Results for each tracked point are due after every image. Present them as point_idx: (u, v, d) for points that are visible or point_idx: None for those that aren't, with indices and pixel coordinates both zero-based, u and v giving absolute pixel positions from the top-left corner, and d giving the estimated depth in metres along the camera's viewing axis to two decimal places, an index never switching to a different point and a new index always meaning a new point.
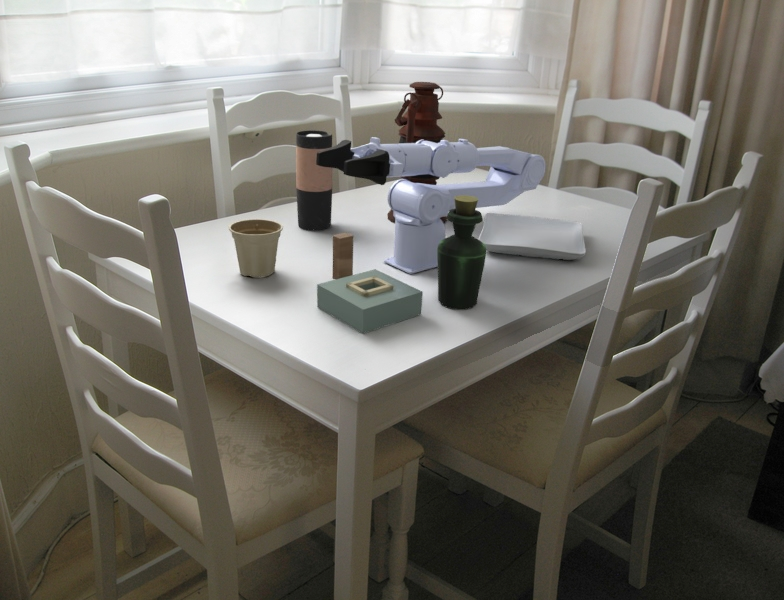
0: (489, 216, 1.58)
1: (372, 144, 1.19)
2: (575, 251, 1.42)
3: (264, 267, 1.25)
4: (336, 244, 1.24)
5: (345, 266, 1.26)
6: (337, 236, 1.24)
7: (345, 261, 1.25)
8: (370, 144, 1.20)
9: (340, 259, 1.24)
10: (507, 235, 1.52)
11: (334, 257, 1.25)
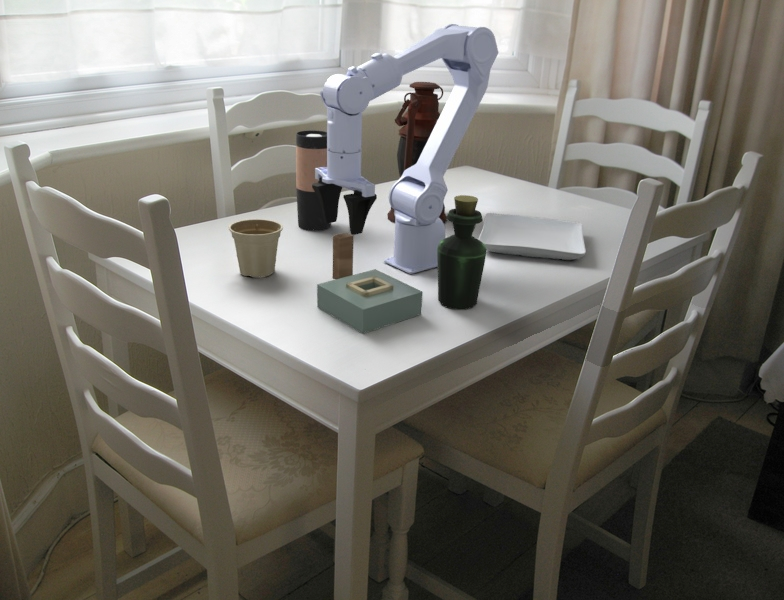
0: (489, 216, 1.58)
1: None
2: (575, 251, 1.42)
3: (264, 267, 1.25)
4: (336, 244, 1.24)
5: (345, 266, 1.26)
6: (337, 236, 1.24)
7: (345, 261, 1.25)
8: None
9: (340, 259, 1.24)
10: (507, 235, 1.52)
11: (334, 257, 1.25)
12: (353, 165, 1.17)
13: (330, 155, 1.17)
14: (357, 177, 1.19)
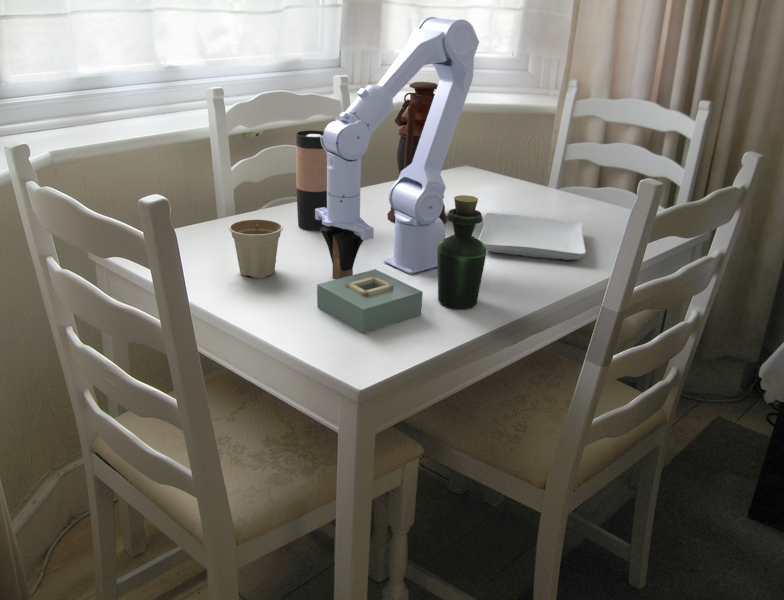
0: (489, 216, 1.58)
1: None
2: (575, 251, 1.42)
3: (264, 267, 1.25)
4: (336, 244, 1.24)
5: None
6: None
7: None
8: None
9: None
10: (507, 235, 1.52)
11: (334, 257, 1.25)
12: (352, 208, 1.20)
13: (330, 199, 1.20)
14: (356, 219, 1.21)
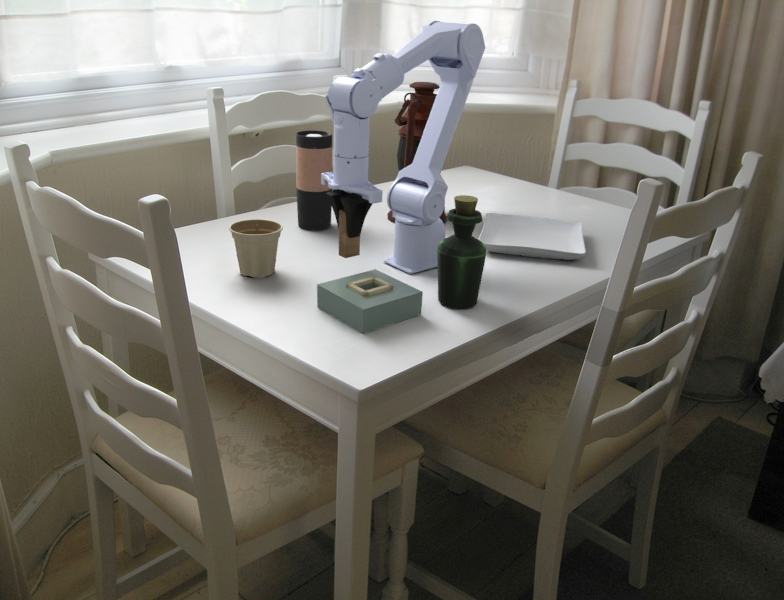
0: (489, 216, 1.58)
1: None
2: (575, 251, 1.42)
3: (264, 267, 1.25)
4: (342, 219, 1.18)
5: (352, 242, 1.20)
6: (343, 210, 1.18)
7: None
8: None
9: (347, 234, 1.19)
10: (507, 235, 1.52)
11: (340, 233, 1.19)
12: (360, 170, 1.13)
13: (336, 160, 1.13)
14: (364, 183, 1.15)
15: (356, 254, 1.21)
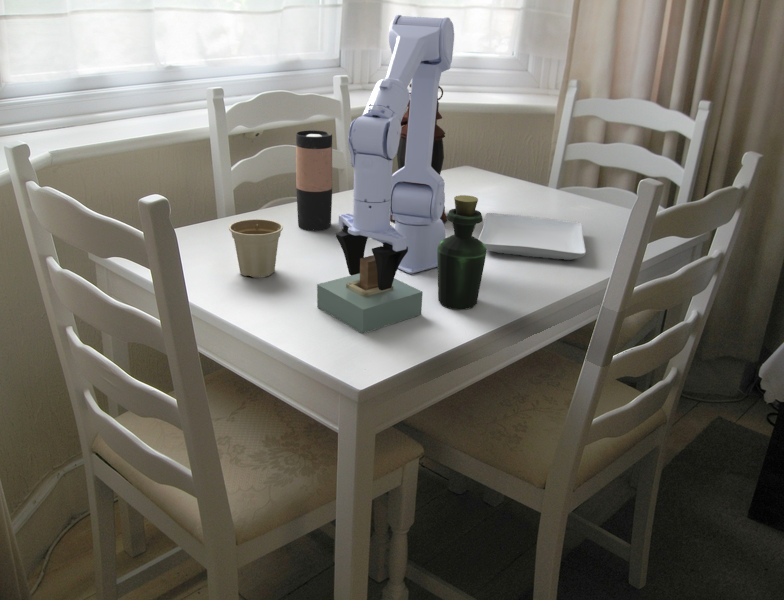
0: (489, 216, 1.58)
1: None
2: (575, 251, 1.42)
3: (264, 267, 1.25)
4: (364, 268, 1.11)
5: None
6: (365, 259, 1.11)
7: (373, 287, 1.12)
8: None
9: (369, 284, 1.11)
10: (507, 235, 1.52)
11: (361, 282, 1.12)
12: (382, 215, 1.06)
13: (357, 204, 1.06)
14: (386, 228, 1.07)
15: None
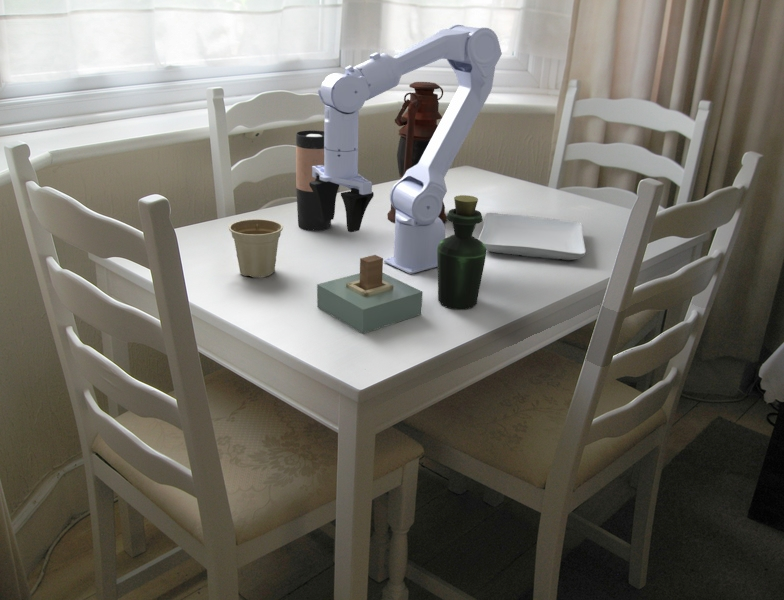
0: (489, 216, 1.58)
1: None
2: (575, 251, 1.42)
3: (264, 267, 1.25)
4: (364, 268, 1.11)
5: None
6: (365, 259, 1.11)
7: (373, 287, 1.12)
8: None
9: (369, 284, 1.11)
10: (507, 235, 1.52)
11: (361, 282, 1.12)
12: (350, 163, 1.18)
13: (327, 153, 1.18)
14: (354, 175, 1.20)
15: None
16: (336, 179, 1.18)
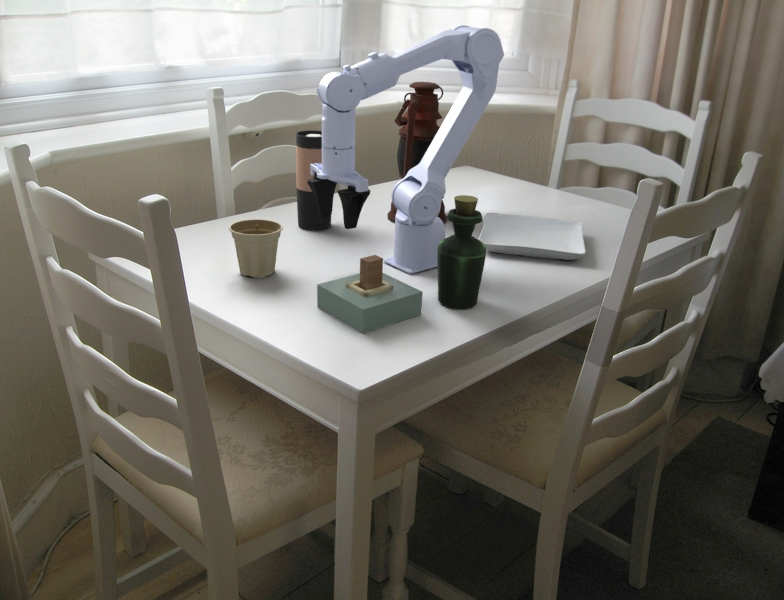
0: (489, 216, 1.58)
1: None
2: (575, 251, 1.42)
3: (264, 267, 1.25)
4: (364, 268, 1.11)
5: None
6: (365, 259, 1.11)
7: (373, 287, 1.12)
8: None
9: (369, 284, 1.11)
10: (507, 235, 1.52)
11: (361, 282, 1.12)
12: (347, 161, 1.20)
13: (324, 151, 1.19)
14: (351, 173, 1.21)
15: None
16: (333, 177, 1.20)
